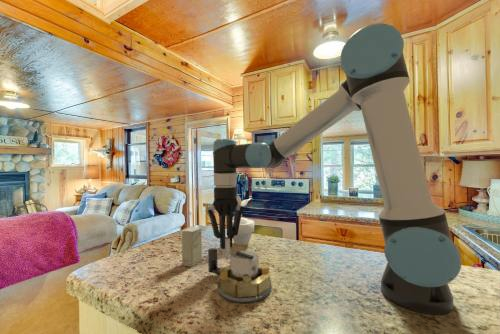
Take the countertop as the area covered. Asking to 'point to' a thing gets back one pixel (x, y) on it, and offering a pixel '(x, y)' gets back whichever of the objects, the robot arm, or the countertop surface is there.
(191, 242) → the skincare box
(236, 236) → the potted plant
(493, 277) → the countertop surface
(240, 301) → the housing
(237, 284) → the tan handled ring
